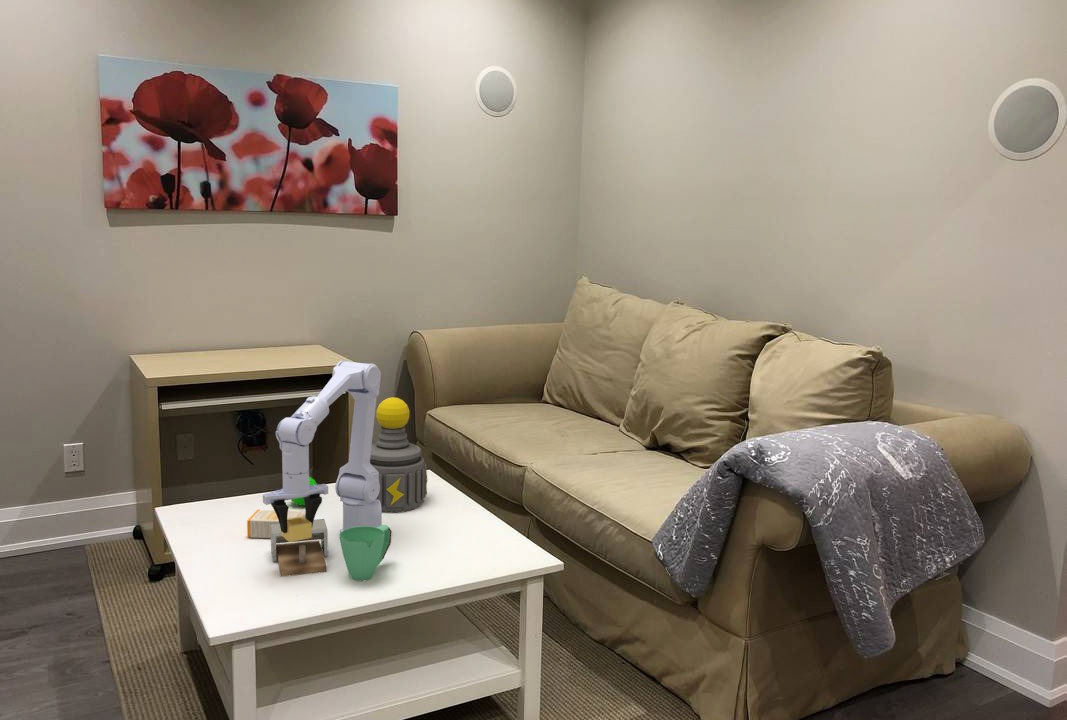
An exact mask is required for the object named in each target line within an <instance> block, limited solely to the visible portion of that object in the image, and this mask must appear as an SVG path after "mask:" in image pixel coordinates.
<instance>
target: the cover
mask: <svg viewBox="0 0 1067 720" xmlns="http://www.w3.org/2000/svg"><path fill="white" fill-rule="evenodd" d="M328 531H329V530H328V527H327V524H326V520H325V518H318V519H314V521H313V526H312V538H308V539H303V540H298V541H293V542H292V543H295V542H306V541H317V540H319V541H320V545H321V549H322V552H323V555H324V557H328V554H329V551H328V549H329V548H328V547H329V545H328V539H329V537H328V536H329V535H328V534H329V533H328ZM284 543H290V542H289V541H287V540H286V539H285V538H284V537H283V536H282V535H281V528H280V523H271V538H270V551H271V558H272V562H277V552H276V544H284Z"/></svg>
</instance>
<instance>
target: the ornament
mask: <svg viewBox="0 0 1067 720" xmlns="http://www.w3.org/2000/svg"><path fill="white" fill-rule="evenodd" d="M309 485H318V483H317V482H316V480H315V479H314V478H313V477H311V476H309ZM291 502H293V503H294V504H296V505H297V506H298V505H299V506H305V502H304V497H303V498H297V499H291Z"/></svg>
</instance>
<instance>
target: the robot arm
mask: <svg viewBox="0 0 1067 720" xmlns="http://www.w3.org/2000/svg"><path fill="white" fill-rule="evenodd" d="M381 375H382V373H381V370H380V369H379V367H378V366H377V365H376V364H375V363H364V362H363V363H362V362H356V361H355V362H353V361H347V360H340V361H339V362H337V364H336V365H335V366H333V369H332V375H331V376H332V377H331V378H330V379H329V380H328V382H327V384H325V386H324V387H323V389H321V391H320V392H319V393H318V395H317V396H316V395H314V396H309V397H307V398H306V400H305V402H304V403H302V405H301V406H299V407H298V409H296V411H295V412H294V413H293V414H292V415H291V416H290V417H289V416H288V417H284V418H283V419H282V420H280V422H279V423H278V425H277V427H276V431H275V437H276V439H277V442H278V443H279V444H278V445H279V449H280V451H281V456H282V457H281V463H282V465H281V467H282V468H281V469H282V470H281V471H282V488H281V489H277V490H274V491H271V492H267V493H263V494H262V503H263V504H264V505H265V506H267V505H271V507H272V510H274V511H275V513H276V515H277V517H278V520H279V523H280V528H281V531H282V532H283V533H287V529H288V526H287V515H288V511H289V508H290V506H289V505H287V502H286V501H290V500H291V499H297V498H303V497H304V502H305V505H304V508H305V510H304V511H305V512H306V513H305V518H306V519H307V520H308V521H310V522H311V523H312V526H313V521H314V520H315V517H316V515H317V512H318V510H319V507H320V506H321V504H322V502H323V497H322V496H321V495H324V496H325V495H329V485H328V484H326V483H321V484H317V485H309V477H310V452H309V451H310V449H309V448H310V446H309V444H310V443H312V441H313V439H314V437H315V433H316V432H317V429H318V426H319V425H320V424H321V423H322V422H323V421H324V420H325V419H326V417H327V416H328V415H329V414H330V408H329V407H330V406H331V405H332V404H333V403H335V401H336V400H337V399H338V398H339V397H340V396H342V395H343V394H345V392H347V393H349V394H350V395H351V397H352V398H353V400H354V404H353V405H354V406H353V415H352V425H351V435H350V444H349V452H348V453H349V454H348V462H347V463H345V464H344V465H342V466H340V468H339V470H338V471H339V472H338V476H337V479H336V482H335V489H334V490H335V493H336V495H337V497H339V498H340V499H339V501H340V502H342V528H339V534H340V533H341V532H342V531H344V530H346V529H348V528H352V527H360V526H370V527H376V528H377V527H379V526H381V525H383V524H382V523H383V522H382V519H383V518H382V513H383V512H382V510H381V503H380V500H375V499H376V498H377V497H378V494H379V491H380V484H379V472H378V471H377V470H376V469H375V468H374V467H373V466H372V465H371V464H370V457H371V447H372V444H373V438H374V427H375V426H374V425H375V419H376V418H375V417H376V406H377V397H378V396H379V395H380V388H381V387H380V386H381V378H382V376H381ZM361 475H362V476H361Z"/></svg>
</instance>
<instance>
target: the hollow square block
mask: <svg viewBox="0 0 1067 720" xmlns="http://www.w3.org/2000/svg"><path fill="white" fill-rule="evenodd" d="M287 526H288V529H287V533H283V532H282V531H281V535H282V536H283V537H284V538H285V539H286V540H287V541H289V542H288V543H294V542H293V541H297V542H299V541H298V540H303V539H308V538H312V523H311V522H310V521H308V520H307V519H306V518H305V517H303V516H300V517H294V518H289V519H287Z"/></svg>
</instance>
